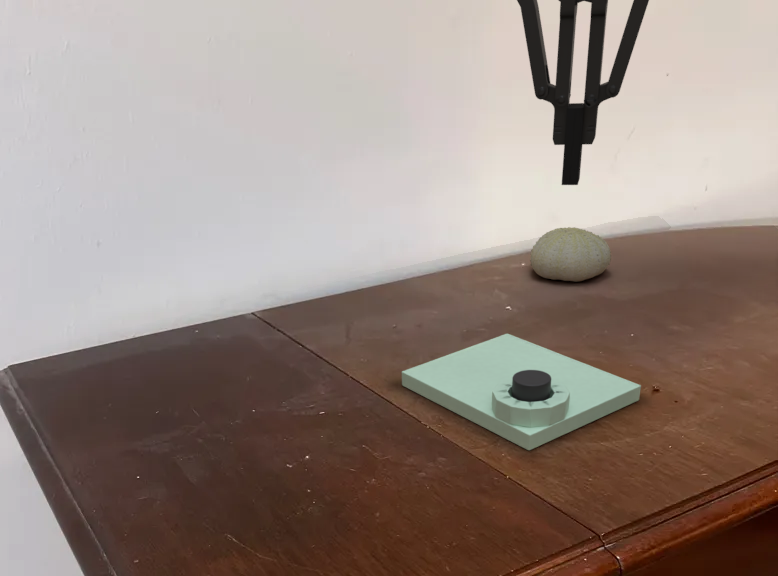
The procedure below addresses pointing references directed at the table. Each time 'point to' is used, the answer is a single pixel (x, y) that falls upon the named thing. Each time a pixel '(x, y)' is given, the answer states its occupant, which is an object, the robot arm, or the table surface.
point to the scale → (494, 389)
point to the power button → (531, 386)
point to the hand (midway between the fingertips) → (570, 181)
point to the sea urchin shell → (570, 255)
